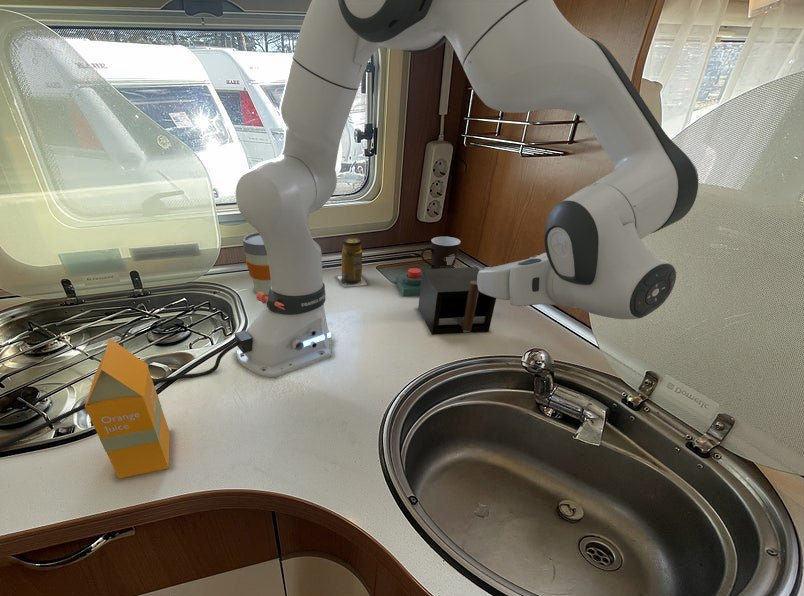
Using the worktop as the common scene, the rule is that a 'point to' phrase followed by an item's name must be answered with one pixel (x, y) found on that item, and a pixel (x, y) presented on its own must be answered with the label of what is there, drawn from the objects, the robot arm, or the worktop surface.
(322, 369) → the worktop surface
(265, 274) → the reusable coffee cup
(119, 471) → the orange juice
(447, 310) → the tray
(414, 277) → the stop button
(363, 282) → the condiment
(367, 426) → the worktop surface
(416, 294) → the control box
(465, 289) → the oven
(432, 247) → the coffee mug
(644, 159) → the robot arm
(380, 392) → the worktop surface
